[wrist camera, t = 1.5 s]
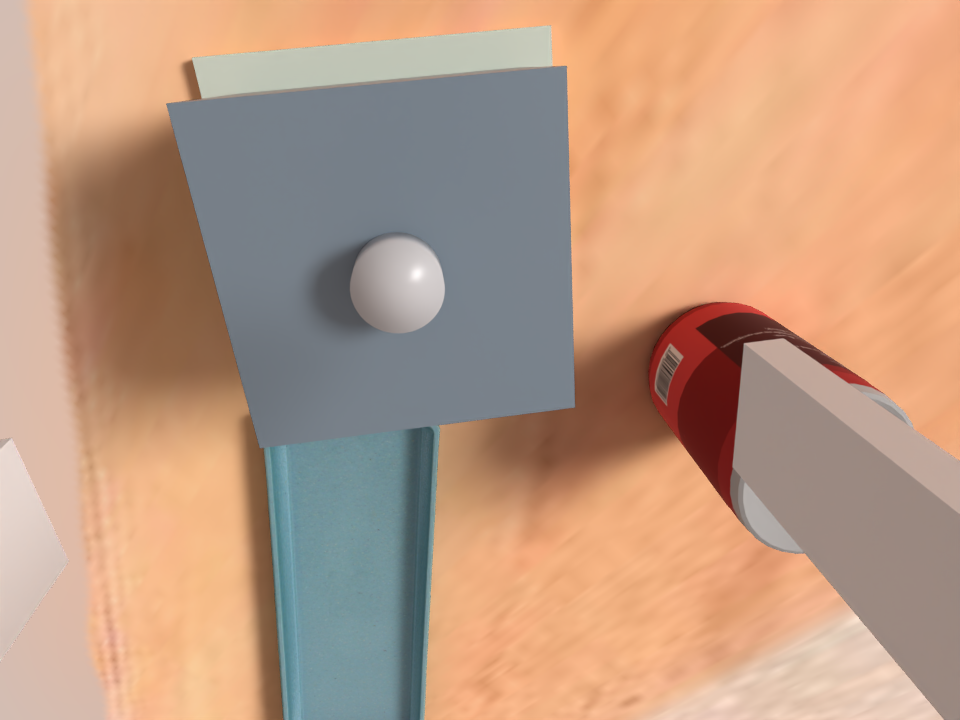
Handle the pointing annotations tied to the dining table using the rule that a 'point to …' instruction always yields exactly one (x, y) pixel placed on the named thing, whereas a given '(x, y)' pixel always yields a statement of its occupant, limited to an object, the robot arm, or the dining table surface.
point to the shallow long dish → (353, 572)
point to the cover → (389, 248)
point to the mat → (373, 61)
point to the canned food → (727, 398)
